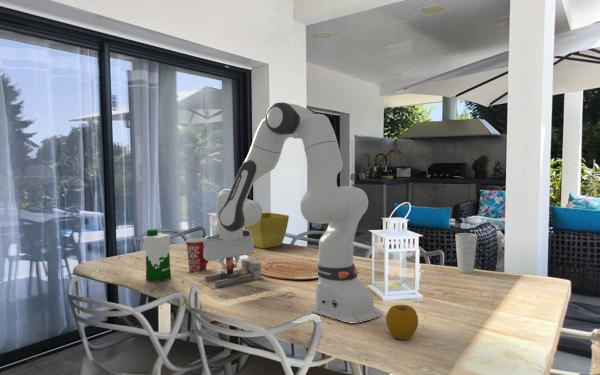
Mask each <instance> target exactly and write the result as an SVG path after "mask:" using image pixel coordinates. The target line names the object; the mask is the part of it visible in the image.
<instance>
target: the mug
mask: <svg viewBox="0 0 600 375" xmlns="http://www.w3.org/2000/svg"><path fill="white" fill-rule="evenodd" d="M204 239H205V237H204V238H202V237H200V238H190V239H189V238H188V239H186V240H185V243H186V249H187V250H186V252H187V253H186V254H187V262H188V270H189V272H190V273H196V272H198V273H199V272H204V271H207V265H208V262H209V261H207V260H205V259H204V258H203V250H204V245H203V240H204Z"/></svg>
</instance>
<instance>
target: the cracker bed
mask: <svg viewBox="0 0 600 375" xmlns="http://www.w3.org/2000/svg"><path fill="white" fill-rule="evenodd" d="M242 267H244V268H246V269H247V271H248V274H247V275H243V276H238V277H233V278H228V279H221V272H219V273H212V274H209V275H204V279H202V280H201V279H200V280H197V282H198V283H200V284H201V285H203V286H204V287H206V288H208V289H210V290H211V291H215V290H219V289H224V288H228V287H232V286H237V285H242V284H246V283H252V282H255V281H256V282H257V281H261V280H265V278H264V277H262V269H261V268H262V266H261V262H259V261H257V260H254V259H251V258H248V257H247V258H242V259H241V268H242ZM238 270H239V269H233V271H235V272H238Z"/></svg>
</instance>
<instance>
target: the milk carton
mask: <svg viewBox="0 0 600 375" xmlns="http://www.w3.org/2000/svg"><path fill="white" fill-rule="evenodd" d="M142 239H143V243H144V248H145V252H144V253H145V267H146V268H145V281H147V280H153V281H152V282H158V281H161V282H163V281H165V280H164V279H166V278H168V277H170V278H172V274H171V262H170V260H171V259H170V239H171V234H170V233H169V234H167V233H158V229H156V228H155V229H152V228H151V229H147V230H146V235H144V236H143V237H142ZM168 279H169V278H168ZM162 280H163V281H162ZM166 280H167V279H166Z"/></svg>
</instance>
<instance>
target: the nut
mask: <svg viewBox="0 0 600 375" xmlns="http://www.w3.org/2000/svg"><path fill="white" fill-rule="evenodd" d="M237 270H238V273H239V276H243V275H247V274H248V271H247V269H246V268H244V267H242V266H241V267H239V269H237Z"/></svg>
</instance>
